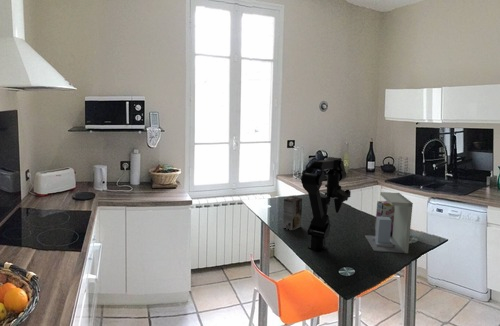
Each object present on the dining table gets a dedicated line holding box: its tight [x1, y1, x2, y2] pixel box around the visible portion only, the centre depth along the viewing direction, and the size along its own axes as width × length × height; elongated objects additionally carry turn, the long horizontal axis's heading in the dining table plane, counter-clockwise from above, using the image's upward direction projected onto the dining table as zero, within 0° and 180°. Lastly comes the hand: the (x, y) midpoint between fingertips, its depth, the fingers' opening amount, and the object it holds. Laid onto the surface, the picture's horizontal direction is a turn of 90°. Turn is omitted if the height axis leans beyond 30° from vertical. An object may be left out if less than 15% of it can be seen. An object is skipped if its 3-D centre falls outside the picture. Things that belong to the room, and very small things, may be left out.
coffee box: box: [282, 196, 303, 231], centre depth 199 cm, size 9×6×16 cm
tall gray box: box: [374, 216, 392, 244], centre depth 177 cm, size 6×5×12 cm
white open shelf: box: [364, 191, 414, 254], centre depth 177 cm, size 15×20×24 cm
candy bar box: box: [374, 200, 395, 233], centre depth 196 cm, size 11×5×16 cm, turn 108°
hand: (331, 214), depth 181 cm, fingers open, 9 cm apart
